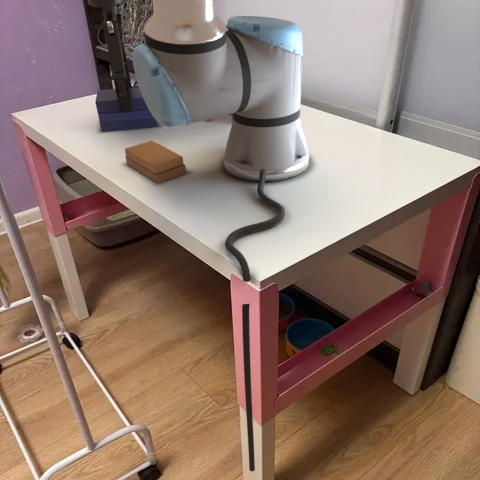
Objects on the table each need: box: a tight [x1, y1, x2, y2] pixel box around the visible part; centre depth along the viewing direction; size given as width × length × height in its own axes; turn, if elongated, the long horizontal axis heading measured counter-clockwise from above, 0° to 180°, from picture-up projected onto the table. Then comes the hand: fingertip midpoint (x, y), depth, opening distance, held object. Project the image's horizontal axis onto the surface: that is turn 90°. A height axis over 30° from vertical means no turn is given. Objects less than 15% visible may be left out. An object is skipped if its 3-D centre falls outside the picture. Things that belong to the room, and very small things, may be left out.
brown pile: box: [124, 140, 187, 184], centre depth 92 cm, size 11×6×3 cm, turn 39°
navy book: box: [94, 86, 148, 115], centre depth 110 cm, size 12×8×2 cm, turn 99°
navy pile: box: [97, 109, 159, 133], centre depth 111 cm, size 12×8×4 cm, turn 99°
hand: (126, 103), depth 110 cm, fingers open, 9 cm apart
